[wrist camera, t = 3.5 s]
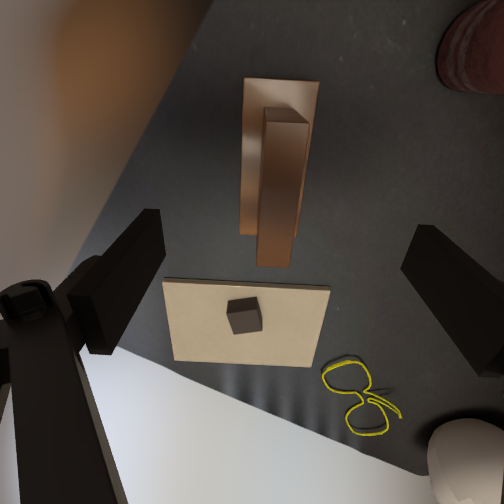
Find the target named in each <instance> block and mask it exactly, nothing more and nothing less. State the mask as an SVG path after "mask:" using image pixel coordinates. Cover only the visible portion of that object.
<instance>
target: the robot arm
mask: <svg viewBox="0 0 504 504" xmlns="http://www.w3.org/2000/svg"><path fill="white" fill-rule="evenodd" d="M165 256H166V252H165V244H164V237H163V230H162V222H161V215H160V209H144V210H143V211H142V212H141V213H140V214H139V215H138V216H137V217H136V219H135V220H134V221H133V222H132V223H131V224H130V225H129V226H128V227H127V228H126V230H125V231H124V232H123V233H122V234H121V235H120V236H119V237H118V238H117V239H116V241H115V242H114V243H113V244H112V245H111V246H110V247H109V248H108V249H107V250H106V252H105V253H104V254H103V255H102V256H97V255H94V256H92V257H90V258H88V259H86V260H85V261H83V262H82V263H81V264H80V265H79V266H78V267H77V268H76V269H75V270H74V271H73V272H72V273H71V274H70V275H69V276H68V278H66V279H65V280H64V281H63V282H62V283H61V284H60V285H59V286H58V287H57V288H56V289H55V290H54V291H52V289H51V287H50V285H49V284H48V282H46V281H43V280H27V281H23V282H19V283H17V284H14V285H11V286H10V287H8V288H6V289H4V290H3V291H1V292H0V313H1V315H2V317H3V318H4V319H3V320H0V422H1V419H2V415H3V412H4V408H5V405H6V401H7V398H8V394H9V390H10V387H11V388H12V402H13V414H14V427H15V439H16V452H17V465H18V478H19V491H20V503H21V504H128V502H127V498H126V495H125V492H124V489H123V486H122V483H121V480H120V477H119V473H118V470H117V467H116V464H115V461H114V458H113V455H112V452H111V449H110V446H109V443H108V440H107V437H106V433H105V430H104V427H103V424H102V421H101V418H100V415H99V412H98V408H97V405H96V402H95V399H94V396H93V393H92V390H91V387H90V384H89V381H88V378H87V374H86V372H85V368H84V365H83V362H82V359H81V357H80V354H79V352H80V350H81V349H82V347H83V346H84V344H85V343H86V346H87V348H88V351H89V353H90V354H98V355H112V353H113V351H114V349H115V347H116V346H117V344H118V342H119V340H120V338H121V336H122V335H123V333H124V331H125V329H126V327H127V325H128V324H129V322H130V320H131V318H132V316H133V315H134V313H135V311H136V309H137V307H138V305H139V304H140V302H141V300H142V298H143V296H144V294H145V293H146V291H147V289H148V287H149V285H150V283H151V282H152V280H153V278H154V276H155V274H156V272H157V271H158V269H159V267H160V265H161V263H162V262H163V260H164V258H165ZM400 269H401V270H402V272H403V273H404V275H405V276H406V277H407V279H408V280H409V281H410V283H411V284H412V286H413V287H414V288H415V290H416V291H417V292H418V294H419V295H420V297H421V298H422V299H423V301H424V302H425V303H426V305H427V306H428V307H429V309H430V310H431V312H432V313H433V314H434V316H435V317H436V318H437V320H438V321H439V323H440V324H441V325H442V327H443V328H444V329H445V331H446V332H447V334H448V335H449V336H450V338H451V339H452V340H453V342H454V343H455V345H456V346H457V347H458V349H459V350H460V351H461V353H462V354H463V356H464V357H465V358H466V360H467V361H468V362H469V364H470V365H471V367H472V368H473V369H474V371H475V372H476V373H477V375H478V376H479V377H493V378H501V377H502V375H503V374H504V283H503V282H501V281H499V280H498V279H496V278H495V277H494V276H492V275H491V274H490V273H489V272H488V271H486V270H485V269H484V268H483V267H482V266H481V265H479V264H478V263H477V262H476V261H475V260H474V259H472V258H471V257H470V256H469V255H468V254H467V253H465V252H464V251H463V250H462V249H461V248H460V247H458V246H457V245H456V244H455V243H454V242H452V241H451V240H450V239H449V238H448V237H447V236H445V235H444V234H443V233H442V232H441V231H440V230H438V229H437V228H436V227H435V226H434V225H421V224H418V226H417V229H416V231H415V234H414V236H413V239H412V241H411V243H410V246H409V248H408V251H407V253H406V256H405V258H404V261H403V263H402V266H401V268H400ZM500 396H502V397H503V398H504V391H503V392H502V394H501V395H500ZM501 504H504V473H503V484H502V494H501Z"/></svg>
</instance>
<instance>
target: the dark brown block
mask: <svg viewBox="0 0 504 504" xmlns="http://www.w3.org/2000/svg"><path fill="white" fill-rule="evenodd" d="M226 315H227V318H228V321H229V323H230V326H231V329H232V332H233V334H234V335H237V334H244V333H252V332H259V331H263V321H262V314H261V310H260V307H259V303H258V299H257V297H250V298H243V299H236V300H230V301H228V304H227V311H226Z"/></svg>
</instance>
